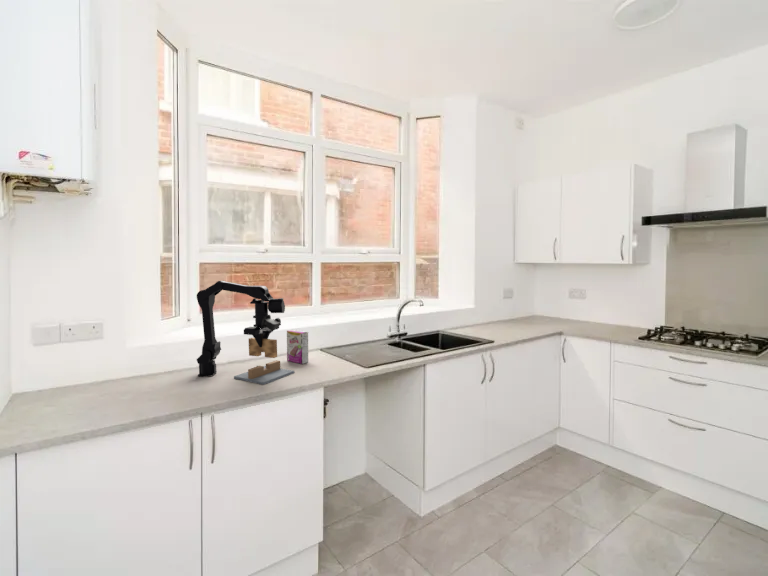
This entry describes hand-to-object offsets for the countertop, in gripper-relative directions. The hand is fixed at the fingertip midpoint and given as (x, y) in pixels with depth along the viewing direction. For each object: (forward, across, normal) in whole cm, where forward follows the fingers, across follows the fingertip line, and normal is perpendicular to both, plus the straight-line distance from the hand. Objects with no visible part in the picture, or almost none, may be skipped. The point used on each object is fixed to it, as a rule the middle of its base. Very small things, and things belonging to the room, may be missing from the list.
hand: (262, 346), depth 186 cm
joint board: (+14, 0, -1) cm, 14 cm away
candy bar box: (+14, +26, -2) cm, 29 cm away
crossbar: (+4, 0, 0) cm, 4 cm away
